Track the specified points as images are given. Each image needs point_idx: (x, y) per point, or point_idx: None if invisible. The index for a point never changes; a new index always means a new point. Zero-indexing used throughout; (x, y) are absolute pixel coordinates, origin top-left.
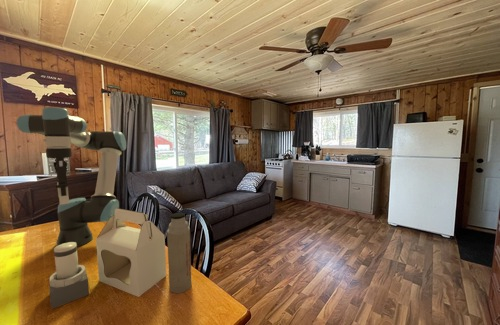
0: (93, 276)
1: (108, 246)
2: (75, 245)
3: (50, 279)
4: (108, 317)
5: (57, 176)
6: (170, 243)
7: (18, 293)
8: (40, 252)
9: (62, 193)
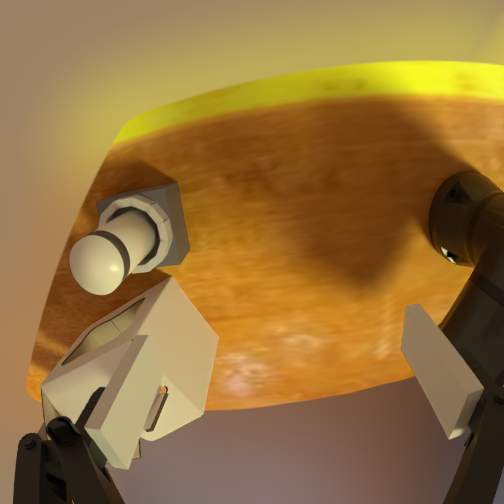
0: (202, 264)
1: (96, 352)
2: (91, 291)
3: (118, 201)
4: (57, 282)
5: (467, 466)
6: (41, 429)
7: (224, 111)
8: (453, 133)
9: (90, 405)
